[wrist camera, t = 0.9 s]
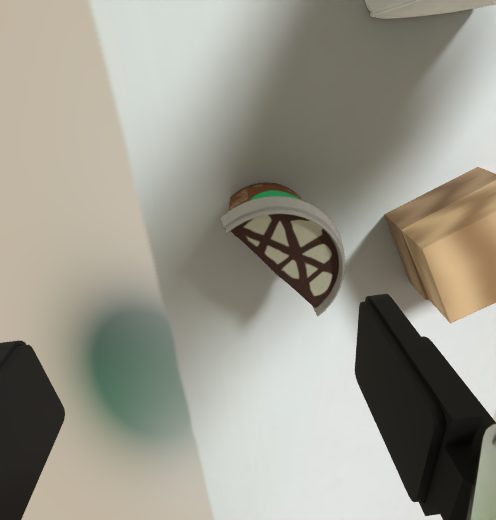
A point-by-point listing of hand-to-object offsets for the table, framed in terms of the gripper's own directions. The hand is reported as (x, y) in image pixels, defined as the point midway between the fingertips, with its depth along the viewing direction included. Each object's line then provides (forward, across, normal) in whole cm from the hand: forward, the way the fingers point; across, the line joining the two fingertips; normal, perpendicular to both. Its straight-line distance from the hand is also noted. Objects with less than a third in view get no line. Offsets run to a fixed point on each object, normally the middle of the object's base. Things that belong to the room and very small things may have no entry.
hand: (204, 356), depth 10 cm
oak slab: (+22, -24, +10) cm, 34 cm away
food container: (+26, -6, +6) cm, 28 cm away
